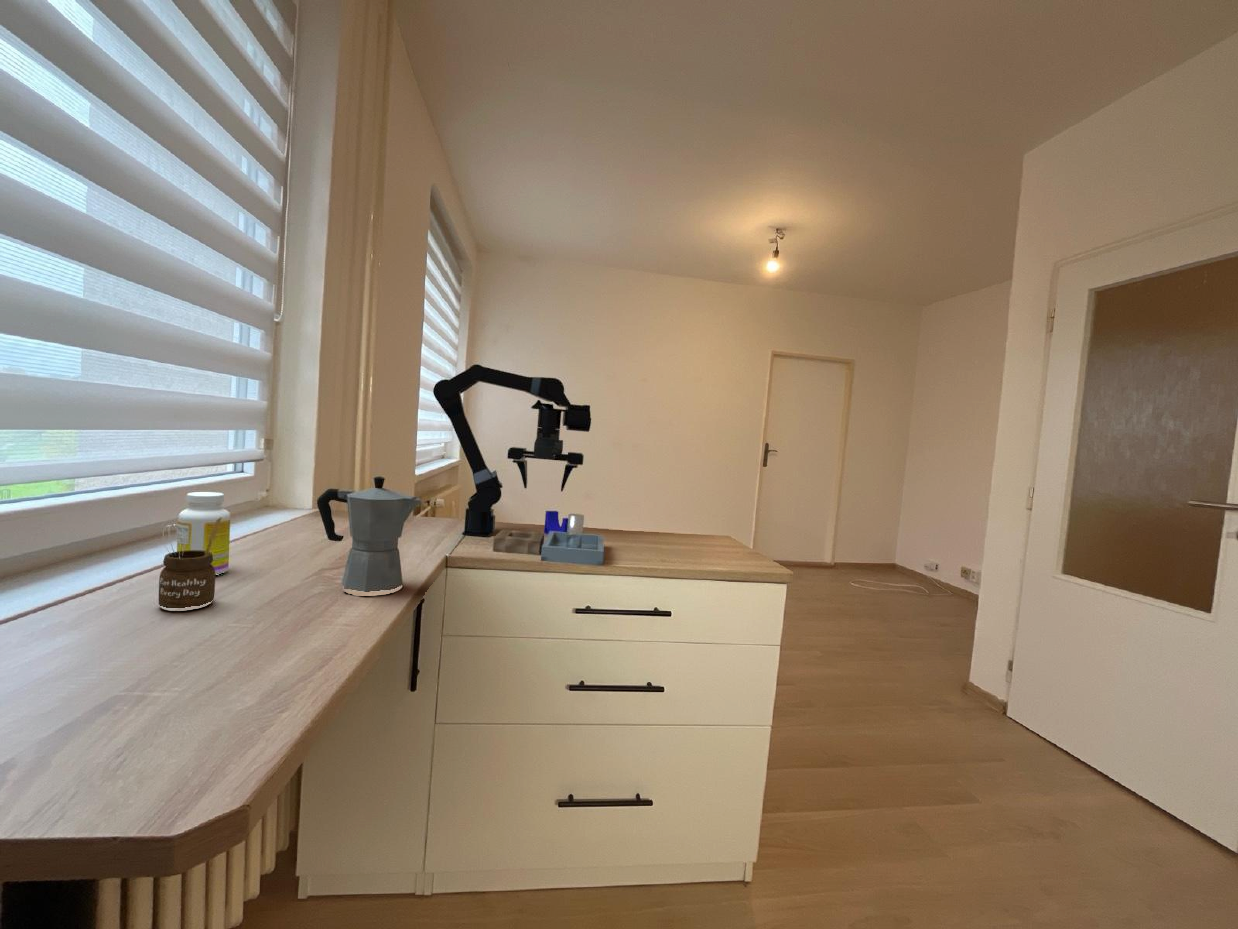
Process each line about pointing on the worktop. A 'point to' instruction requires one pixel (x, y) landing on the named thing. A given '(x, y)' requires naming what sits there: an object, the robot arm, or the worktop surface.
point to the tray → (573, 549)
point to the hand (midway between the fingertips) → (543, 489)
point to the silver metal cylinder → (575, 530)
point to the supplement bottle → (205, 527)
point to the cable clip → (554, 522)
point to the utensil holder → (187, 575)
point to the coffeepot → (370, 534)
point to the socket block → (518, 542)
